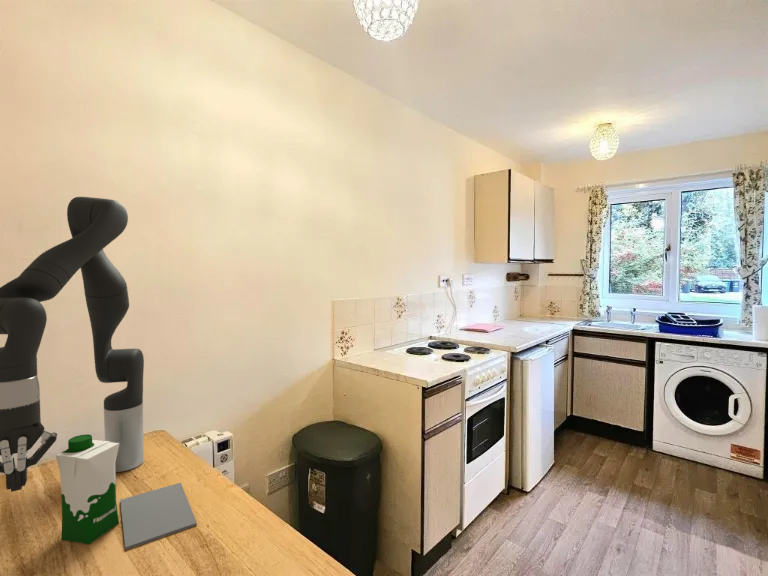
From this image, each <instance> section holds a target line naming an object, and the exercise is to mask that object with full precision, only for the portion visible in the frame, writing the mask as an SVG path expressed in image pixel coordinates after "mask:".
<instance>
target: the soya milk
mask: <svg viewBox="0 0 768 576" xmlns="http://www.w3.org/2000/svg"><path fill="white" fill-rule="evenodd" d="M67 445H68V448H67V449H65V450H63V451H61V452H59V453H58V454H56V455H55V457H56V462H57V465H58V469H59V474H60V486H61V487H60V490H61V493H60V494H61V533H60V534H61V537H60V540H62V541H68V542H72V543H79V544H85V545H91V544H92V543H94V542H95V541H97V540H98V539H99V538H101V537H102V536H104V535H105V534H106V533H107V532H109V531H110V530H112V529H113V528H114V527H116V526H117V525H118V524H120V520H119V513H118V505H117V485H116V484H117V482H116V478H117V477H116V472H115V462H116V457H117V453H118V448H119V443H113V442H110V441H105V440H96V439H93V435H92V434H80V435H75V436H73V437H71V438H69V439H68V440H67Z"/></svg>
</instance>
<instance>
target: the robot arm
mask: <svg viewBox="0 0 768 576" xmlns="http://www.w3.org/2000/svg"><path fill="white" fill-rule="evenodd" d="M66 217H67V224H68V227H69V231H70V234H71V238H69V239H68V240H66V241H63V242H61V243H58V244H57V245H55V246H52V247H50V248H48V249H47V250H45V251H44V252H42V253H41V254H39V255H38V256H37V257H36V258H35V259H34V260H33V261H32V262H31V263H30V264H29V265H28V266H27V267H26V268H25V269H24V270H23V271H22V272H21V273H20V274H19V275H18V276H17V277H15V278H14V279H12V280H10V281H9V282H6V283H5V284H4V285H2V286H0V335H7V338H6V341H5V343H4V346H2V347H1V346H0V456H1V460H2V461H0V473H1V474H2V473H3V474H5V488H6V489H7V490H10V492H11V493H12V492H13V493H14V492H17V491H20V490H22V488H23V487H25V486H26V484H27V481H28V468H29V467H31V466H35V465H37V464H38V463H39V461H40V460H41V459H42V458H43V457H44V456H45V454H46V453H47V452H48V451H49V449H50V448H51V447H52V446H53V445H54V444H55V442H56V441H57V438H58V433H57V432H49V431H46V430H45V426H44V425H43V424H42V421H41V419H42V418H41V396H40V395H41V393H40V392H41V390H40V389H41V388H40V387H41V386H40V382H39V377H38V358H37V357H38V351H39V348H40V345H41V342H42V338H43V335H44V332H45V329H46V325H47V319H48V318H47V316H48V315H47V312H46V309H45V307H44V305H43V304H42V302H46V301H49V300H52V299H54V298H55V297H56V296H57V295H58V294H59V293H60V292H61V291H62V290H63V288H64V287H65V286H66V285H67V284H68V282H69V281H71V279H72V278H73V276H75V274H76V273H77V272H78V271H79V270H81V271H80V272H81V277H82V283H83V291H84V297H85V303H86V308H87V311H88V317H89V322H90V327H91V332H92V343H93V358H94V368H95V374H96V377H97V379H98V381H99V382H101V383H103V384H112V383H126V387H125V388H123V389H121V390H119V391H116V392H113V393H111V394H109V395H107V396H106V397H105V398H104V400H103V423H104V424H103V425H104V426H103V427H104V429H103V430H104V441H110V442H113V443H119V448H118V453H117V457H116V462H115V473H120V472H121V473H122V472H126V471H129V470H133V469H135V468H137V467H140V465H142V464H143V463H144V461H145V453H144V451H145V449H144V446H145V444H144V443H145V442H144V439H145V438H144V397H143V396H144V368H145V367H144V365H145V362H144V361H145V359H144V358H145V357H144V354H143V351H142V350H141V349H140V348H116V349H113V347H112V338H113V335H114V333H115V332H116V330H117V328H118V327H119V325H120V324H121V322H122V321H123V319H124V318H125V316H126V314H127V312H128V311H129V309H130V299H129V293H128V292H129V291H128V285H127V282H126V279H125V278H124V276H123V275H122V274H121V272H120V271H119V269H118V268H117V267H116V266H115V265H114V263H113V262H111V260H110V259H109V257H108V256H107V254H106V253H105V251H104V249H105V248H106V247H107V246H108V245H109V244H110V243H112V242H113V241H115V240H116V239H117V238H118V237H119V236H120V235H122V233H123V232H124V231H125V230H126V228H127V226H128V223H129V215H128V211H127V209H126V206H125V205H124V204H122V203H121V202H120V201H118V200H114V199H111V198H101V197H100V198H99V197H90V196H75V197H74V198H72V199H70V201H69V203H68V205H67V209H66ZM40 438H41V440H40V444H41V445H40V446H39V447H38V448H37V449H36V450H35V452H34V453H33V454H32V456H31V457H28V452H29V451H30V450H31V449H32V448H33V447H34V445H35V444H36V443H37V441H38V440H39V439H40ZM15 454H17V455H16V460H17V462H16V460H15Z"/></svg>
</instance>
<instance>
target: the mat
mask: <svg viewBox="0 0 768 576" xmlns="http://www.w3.org/2000/svg"><path fill="white" fill-rule="evenodd" d="M119 500H120V502H119V503H121V504H120V512H121V519H122V531H123V542H124V550H125V551H127V550H131V549H133V548H136V547H139V546H142V545H144V544H148V543H151V542H153V541H156V540H159V539H162V538H164V537H165V538H166V537H168V536H170V535H173V534H175V533H176V534H177V533H178V532H182V531H184V530H185V531H186V530H188V529H190V528H193V527H196V526H198V524H197V522H198V521H197V520H196V518H195V515H194V513H193V510H192V507H191V505H190V502H189V499H188V497H187V495H186V493H185V490H184V487H183V485H182V482H178V483H175V484H171V485H167V486H163V487H160V488H157V489H153V490H150V491H147V492H143V493H139V494H136V495H132V496H129V497H125V498H122V499H119Z"/></svg>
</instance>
